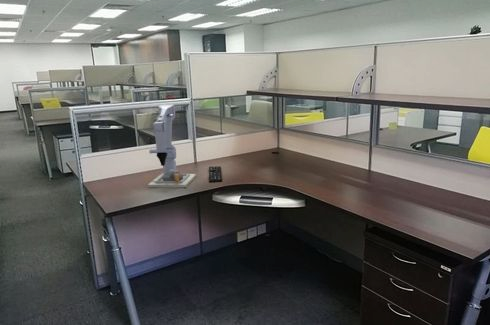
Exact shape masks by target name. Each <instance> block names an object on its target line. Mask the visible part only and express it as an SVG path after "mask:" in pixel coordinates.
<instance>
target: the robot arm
mask: <svg viewBox="0 0 490 325" xmlns="http://www.w3.org/2000/svg"><path fill="white" fill-rule="evenodd" d="M157 111H158V116H157V117H156V119H155V120H156V121H155V122H153V124H152V129H153V130H152V131H153V134H154V138H155V146H156V149H155V148H154V149H149V152H148V153H149V154H156V157H157V158H158V160H159V162H160V163H159V164H160V166H162V171H163V172H162V173H161V174H169V170H175V172H176V173H178V172H179V170H178V169H177V162H176V158H177V148H176V147H175V146H174V145H173V144H172V141H173V140H172V137H173V136H172V133H173V132H172V131H173V120H175V119H176V106H175V104H162V105H161V104H159V105H158V107H157Z"/></svg>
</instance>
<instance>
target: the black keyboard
mask: <svg viewBox="0 0 490 325" xmlns="http://www.w3.org/2000/svg"><path fill="white" fill-rule="evenodd" d="M220 182H221V183H222V182H223V176H222V167H221V165H220V166H219V165H217V166H212V165H211V166H209V167H208V183H220Z"/></svg>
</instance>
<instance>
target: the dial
mask: <svg viewBox="0 0 490 325" xmlns="http://www.w3.org/2000/svg"><path fill="white" fill-rule="evenodd" d="M182 174H183V173H178V172H175V170H169V174H167V175H164V176H163V177H162V180H163V181H179V180H182V179H183V175H182Z"/></svg>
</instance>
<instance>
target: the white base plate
mask: <svg viewBox="0 0 490 325" xmlns="http://www.w3.org/2000/svg"><path fill="white" fill-rule="evenodd" d="M181 174H182V175H183V179H182V180H179V181H163V180H162V177H163V176H164V175H167V174H162V173H160V175H158V176H157V177H156V178H155V179H153V180H152V181H150V182H149V183H148V184H147V187H148V188H187V187H188V186H189V185H190V184H191V182H192V181H193V180H194V179H195V178H196V177H197V174H196V173H181Z"/></svg>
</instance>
